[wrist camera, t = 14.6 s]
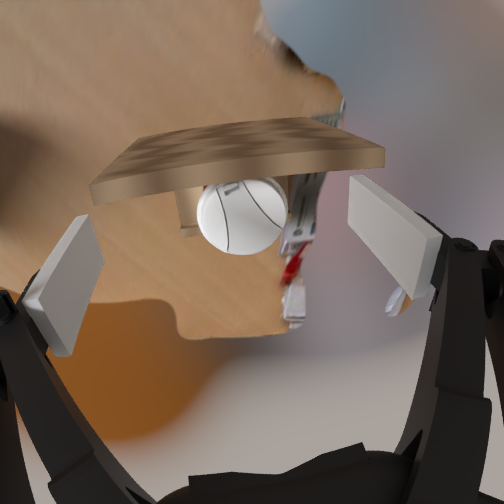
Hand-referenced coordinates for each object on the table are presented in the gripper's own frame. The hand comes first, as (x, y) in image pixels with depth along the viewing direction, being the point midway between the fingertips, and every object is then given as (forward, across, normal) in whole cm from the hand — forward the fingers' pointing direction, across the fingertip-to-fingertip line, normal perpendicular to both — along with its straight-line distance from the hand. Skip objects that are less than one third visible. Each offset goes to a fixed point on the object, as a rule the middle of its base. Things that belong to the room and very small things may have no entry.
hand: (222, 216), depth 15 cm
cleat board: (+27, +2, -6) cm, 28 cm away
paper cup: (+23, +2, -5) cm, 24 cm away
